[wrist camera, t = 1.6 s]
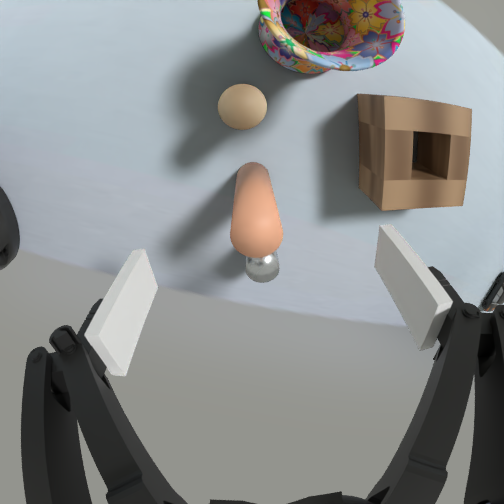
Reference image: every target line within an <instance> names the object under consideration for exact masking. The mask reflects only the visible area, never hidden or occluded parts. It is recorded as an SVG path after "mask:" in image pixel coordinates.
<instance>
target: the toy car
mask: <svg viewBox="0 0 504 504" xmlns="http://www.w3.org/2000/svg"><path fill="white" fill-rule="evenodd" d="M498 278H499V279H500V280H499V279H498ZM497 280H498V281H499V282H498V281H497ZM496 283H497V284H496V285H495V287H494V288H493V290H492V291H491V293H490V295H489V296H488V298H487V299H484V302H483V303H482V304H483V305H482V306H483V308H484V311H487V312H490V311H493V310H494V309H495V307H496V306H497V305H498V304H503V303H504V272H503V273H502V274H501V276H500V277H497V279H496ZM485 301H486V302H485Z"/></svg>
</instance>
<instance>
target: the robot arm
mask: <svg viewBox="0 0 504 504" xmlns="http://www.w3.org/2000/svg"><path fill="white" fill-rule="evenodd" d="M18 249H19V230H18V225H17V220H16V217H15V214H14V211H13V208H12V206H11V204H10V202H9V200H8V198H7V196H6V194H5V193H4V191H3V190H2V188H1V187H0V270H1V269H3V268H5V267H6V266H7V265H8V264H9V263H10V262H11V261H12V260H13V259H14V258H15V256H16V255H17V252H18ZM374 267H375V268H376V270H377V272H378V274H379V275H380V277H381V279H382V281H383V282H384V284H385V286H386V288H387V289H388V291H389V293H390V295H391V297H392V298H393V300H394V302H395V304H396V306H397V308H398V309H399V311H400V313H401V315H402V317H403V319H404V321H405V323H406V325H407V327H408V329H409V330H410V333H411V335H412V336H413V339H414V340H415V342H416V345H417V347H418V349H419V351H421V350H425V349H428V348H432V347H433V346H434V344H435V342H436V340H437V338H438V340H439V342H440V344H441V345H440V347H439V349H438V351H437V353H436V355H435V357H434V358H433V360H435V361H434V364H433V368H432V370H431V374H430V376H429V379H428V382H427V385H426V388H425V390H424V393H423V395H422V398H421V400H420V403H419V405H418V407H417V410H416V412H415V414H414V417H413V419H412V422H411V424H410V426H409V428H408V430H407V432H406V434H405V436H404V438H403V440H402V442H401V444H400V446H399V448H398V450H397V452H396V454H395V456H394V457H393V459H392V461H391V463H390V465H389V466H388V468H387V470H386V471H385V473H384V475H383V476H382V478H381V479H380V480H379V481H378V483H377V484H376V485H375V487H374V488H373V489H372V491H371V492H370V493H369V495H368V497H367V498H366V499H362V498H358V497H354V496H347V495H342V492H335V493H330V494H324V495H317V496H311V497H307V498H304V499H301V500H298V501H295V502H292V503H288V504H435V503H436V501H437V499H438V497H439V495H440V493H441V491H442V489H443V486H444V484H445V481H446V479H447V474H448V472H447V471H446V465H447V462H448V460H449V457H450V455H451V452H452V449H453V447H454V444H455V441H456V438H457V436H458V433H459V429H460V426H461V423H462V420H463V417H464V413H465V409H466V406H467V402H468V398H469V394H470V390H471V385H472V381H473V376H474V375H475V419H474V435H473V446H472V455H471V462H470V469H469V475H468V481H467V487H466V492H465V498H464V504H504V305H497V306H496V307H495V309H494V311H493V313H481V312H480V310H479V309H478V308H477V307H476V306H475V305H473V304H470V303H464V302H463V301H462V299H461V298H460V296H459V295H458V294H457V292H456V291H455V290H454V288H453V287H452V286H451V285H450V283H449V282H448V281H447V280H446V278H445V277H444V276H443V274H442V273H441V272H440V271H439V270H437V269H436V268H434V267H433V266H432V267H427V266H426V265H425V264H424V262H423V261H422V260H421V259H420V257H419V256H418V255H417V254H416V252H415V251H414V250H413V249H412V248H411V246H410V245H409V244H408V243H407V242H406V241H405V239H404V238H403V237H402V236H401V235H400V234H399V232H398V231H397V230H396V229H395V228H394V227H393V226H392V224H389V225H379V235H378V243H377V251H376V259H375V266H374ZM157 289H158V285H157V283H156V280H155V277H154V274H153V272H152V269H151V266H150V263H149V260H148V257H147V254H146V251H145V249H138V250H133V251H132V252H131V254H130V256H129V257H128V259H127V260H126V262H125V264H124V265H123V267H122V269H121V270H120V272H119V273H118V275H117V277H116V278H115V280H114V282H113V284H112V285H111V287H110V289H109V290H108V292H107V294H106V296H105V297H104V299H99V300H98V301H97V302H96V303H95V304H94V305H93V307H92V308H91V310H90V312H89V314H88V315H87V317H86V320H85V321H84V323H83V325H82V327H81V328H80V331H79V332H78V334H77V335H76V334H75V332H74V330H73V329H72V327H71V326H68V325H64V326H61V327H59V328H58V329H56V330H55V331H54V332H53V333H52V334H51V336H50V339H49V343H50V344H51V345H52V347H53V348H54V349H55V351H56V352H54V353H48V352H47V350H46V349H45V348H44V347H37V348H35V349H33V350H32V351H31V352H30V354H29V355H28V358H27V362H26V369H25V378H24V387H23V398H22V414H21V455H22V471H23V481H24V490H25V497H26V503H27V504H92V502H91V498H90V494H89V490H88V485H87V481H86V476H85V471H84V466H83V460H82V455H81V449H80V441H79V434H78V425H77V420H78V423H79V425H80V428H81V431H82V433H83V436H84V438H85V441H86V443H87V445H88V448H89V450H90V452H91V455H92V457H93V459H94V462H95V464H96V466H97V468H98V470H99V472H100V474H101V476H102V478H103V480H104V482H105V484H106V486H107V488H108V492H107V494H106V499H107V501H108V504H187V503H186V501H185V500H183V498H182V497H181V496H179V495H178V494H177V493H176V492H175V491H174V490H173V488H172V487H171V486H170V484H169V483H168V482H167V480H166V479H165V478H164V476H163V475H162V473H161V472H160V471H159V469H158V467H157V466H156V465H155V463H154V462H153V460H152V459H151V457H150V455H149V454H148V452H147V451H146V449H145V448H144V446H143V444H142V443H141V441H140V439H139V438H138V436H137V434H136V433H135V431H134V429H133V427H132V426H131V424H130V422H129V420H128V418H127V416H126V415H125V413H124V411H123V409H122V407H121V405H120V403H119V401H118V399H117V397H116V395H115V393H114V391H113V389H112V387H111V385H110V383H109V380H108V378H107V377H106V376H105V374H104V373H105V370H106V368H107V369H108V370H109V371H110V373H111V374H112V375H118V376H126V374H127V371H128V367H129V365H130V362H131V359H132V356H133V353H134V350H135V347H136V344H137V342H138V339H139V336H140V333H141V331H142V328H143V325H144V322H145V320H146V317H147V315H148V312H149V309H150V307H151V304H152V302H153V299H154V296H155V294H156V292H157ZM210 504H255V503H250V502H245V501H232V500H230V501H229V500H210Z"/></svg>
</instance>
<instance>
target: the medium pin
mask: <svg viewBox="0 0 504 504" xmlns="http://www.w3.org/2000/svg"><path fill="white" fill-rule="evenodd" d="M266 111H267V103H266V99H265V97H264V95H263V94H262V92H261V91H260V90H259V89H257V88H256V87H254V86H252V85H248V84H237V85H233V86H231V87H229V88H228V89H226V90H225V91H224V92H223V93H222V95H221V97H220V99H219V102H218V112H219V115H220V117H221V119H222V120H223V122H224V123H225V124H227V125H228V126H230V127H232V128H234V129H238V130H246V129H250V128H253V127H255V126H256V125H258V124H259V123H260V122H261V121H262V120H263V118H264V116H265V114H266Z"/></svg>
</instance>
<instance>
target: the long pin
mask: <svg viewBox="0 0 504 504" xmlns="http://www.w3.org/2000/svg"><path fill="white" fill-rule="evenodd" d="M230 238H231V242H232V244H233V246H234V247H235V249H236V250H237V251H238V252H240V253H241V254H243V255H245V256H248V257H252V258H260V257H265V256H268V255H270V254H272V253H273V252H274V251H276V250H277V248H278V247H279V246H280V244H281V242H282V239H283V230H282V225H281V221H280V217H279V213H278V209H277V205H276V201H275V197H274V193H273V189H272V185H271V181H270V177H269V173H268V171H267V169H266V168H265V167H264V166H263V165H261V164H259V163H256V162H250V163H247V164H245V165H243V166H242V167H241V168H240V169H239V171H238V173H237V178H236V187H235V195H234V204H233V213H232V222H231V231H230Z"/></svg>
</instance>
